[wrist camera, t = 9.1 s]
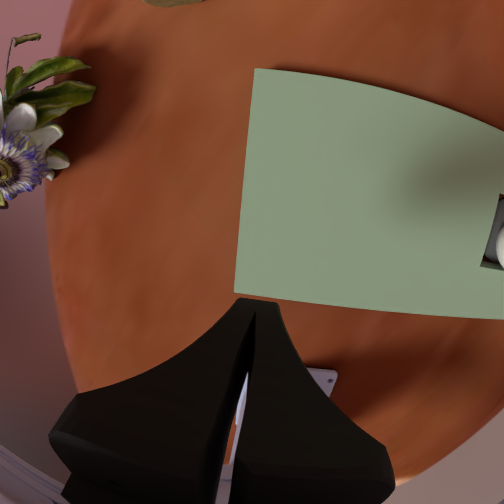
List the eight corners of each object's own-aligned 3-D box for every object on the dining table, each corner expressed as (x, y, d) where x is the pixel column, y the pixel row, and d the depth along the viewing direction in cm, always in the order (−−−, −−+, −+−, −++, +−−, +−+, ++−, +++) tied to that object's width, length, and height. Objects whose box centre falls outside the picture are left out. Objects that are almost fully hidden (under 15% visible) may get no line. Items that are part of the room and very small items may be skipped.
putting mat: (516, 311, 20) (524, 320, 18) (237, 281, 22) (233, 292, 20) (559, 166, 14) (569, 169, 13) (257, 73, 16) (255, 68, 15)
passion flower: (88, 158, 25) (-10, 237, 18) (42, 72, 20) (-60, 138, 13) (137, 117, 17) (-23, 232, 11) (75, -1, 12) (-85, 80, 5)
